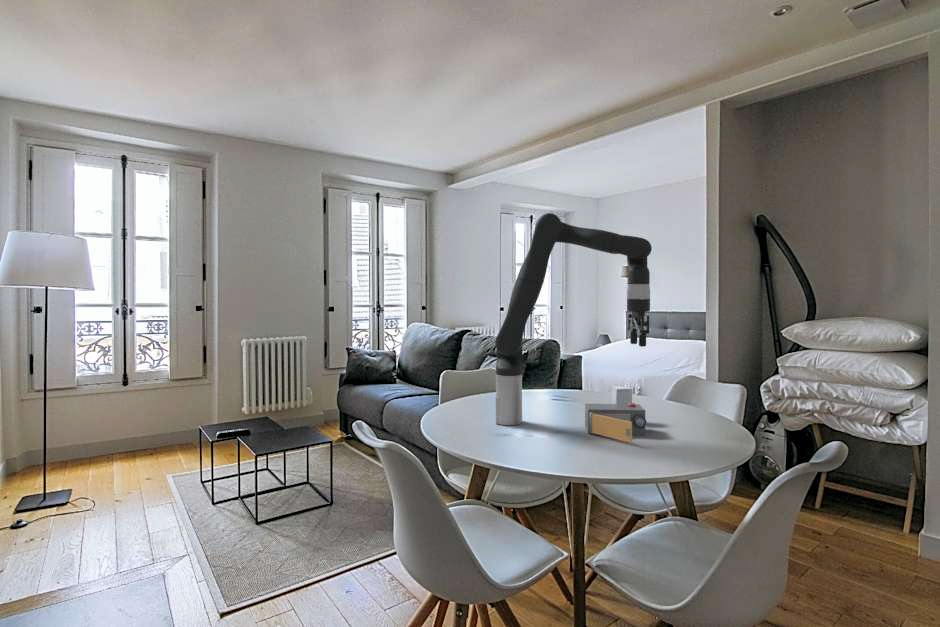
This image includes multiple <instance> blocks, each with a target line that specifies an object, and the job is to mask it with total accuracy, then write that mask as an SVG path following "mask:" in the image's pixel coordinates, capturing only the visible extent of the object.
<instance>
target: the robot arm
mask: <svg viewBox="0 0 940 627" xmlns="http://www.w3.org/2000/svg"><path fill="white" fill-rule="evenodd" d="M556 243H564V244H570V245H575V246H580V247H584V248H588V249H592V250H595V251H599V252H604V253H607V254H611V255H623V256H626V262H627V269H628V271H627V289H626V290H627V291H626V311H627V312H628V313H629V312H630V313H629V314H628V315H627V319H628V320H627V331H629V334H630V335H629V336H630V340H629V341H630V344H632V345H637V344H638V347H646V346H647V336H648V334H650V315H646V312H647V313H648V312H650V311H651V289H650V288H651V287H650V284H651V283H650V280H651V279H650V278H651V277H650V270H649V268H648V257H649V256H650V255H651V252H652V248H653V247H652V245H651V244H652V243H650V241H649V240H648V239H646V238H643V237H641V236H640V237H638V236H634V235H633V236H632V235H624V234H619V233H617V232H613V231H606V230H603V229H597V228H589V227H580V226H575V225H571V224H568V223H566V222H563V221H562V220H561V219H560V217H559V216H558V215H556V214H555V213H552V212H551V213H550V212H548V213H544V214H542V215H541V216H539V217H538V218H537V219H536V221H535V225H534V231H533V234H532V238H531V242H530V246H529V250H528V252H527V254H526V256H525V258H524V261H523V262H522V264H521V267H520V269H519V272H518V274H517V278H516V280H515V282H514V285H513V290H512V291H511V292H512V293H511V295H510V296H511V297H510V298H509V299H510V300H509V305H508V309H507V312H506V316H505V318H504V320H503V323H502V326H500V330H499V332H498V333H497V335H496V337H495V341H494V344H495V350H496V363H495V424H496V425H503V426H517V425H520V424H522V423H523V335H524V332H525V328H526V325H527V322H528V319H529V317H530V315H531V313H532V311H533V309H534V307H535V306H536V304H537V300H538V298H539V297H540V294H541V292H542V291H541V290H542V288H543V285H544V281H545V277H546V273H547V269H548V263H549V259H550V256H551V253H552V251H553V249H554V246H555V244H556Z"/></svg>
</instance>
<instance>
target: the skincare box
mask: <svg viewBox="0 0 940 627" xmlns="http://www.w3.org/2000/svg"><path fill="white" fill-rule="evenodd" d="M628 403H633V388H631V387H629V386H612V387H611V404H628Z"/></svg>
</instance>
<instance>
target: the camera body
mask: <svg viewBox="0 0 940 627" xmlns="http://www.w3.org/2000/svg"><path fill="white" fill-rule="evenodd" d="M590 412H594V414H597V415H602V416H606V417H611V418H616V419H620V420H625V421H630V422H632V434H637V435H636V436H646V427H647V419H646V409H645V408H643V406H642V405H640V404H639V403H637V404H636V403H635V402H632V403H628V404H612V403H584V428H585V431H586V433H587V434H588V435H591V434H590ZM638 434H640V435H638ZM641 434H643V435H641ZM593 435H596V434H595V433H594V434H593Z"/></svg>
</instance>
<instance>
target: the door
mask: <svg viewBox="0 0 940 627" xmlns="http://www.w3.org/2000/svg"><path fill="white" fill-rule="evenodd" d="M594 433H595V434H594ZM589 435H598V436H599V435H600V436H603V437H608V438H612V439H616V440H620V441H624V442H627V443H632V442H633V435H632V422H630V421H625V420H620V419H616V418H611V417H606V416H602V415H597V414H594V412H590V434H589Z"/></svg>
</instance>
